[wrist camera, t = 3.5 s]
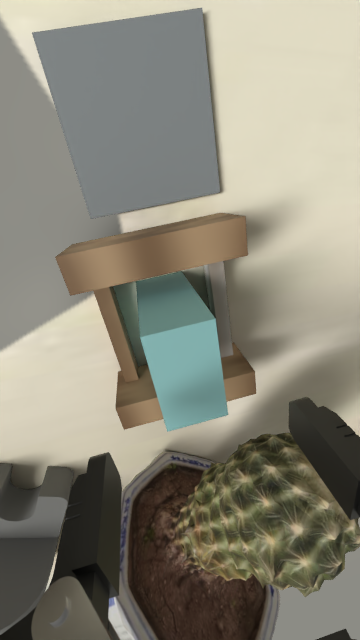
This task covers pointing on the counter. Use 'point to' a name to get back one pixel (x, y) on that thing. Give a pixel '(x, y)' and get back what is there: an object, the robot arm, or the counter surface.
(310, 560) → the potted plant
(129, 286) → the counter surface
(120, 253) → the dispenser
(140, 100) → the mat
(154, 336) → the teal box
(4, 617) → the cable clip
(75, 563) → the robot arm
